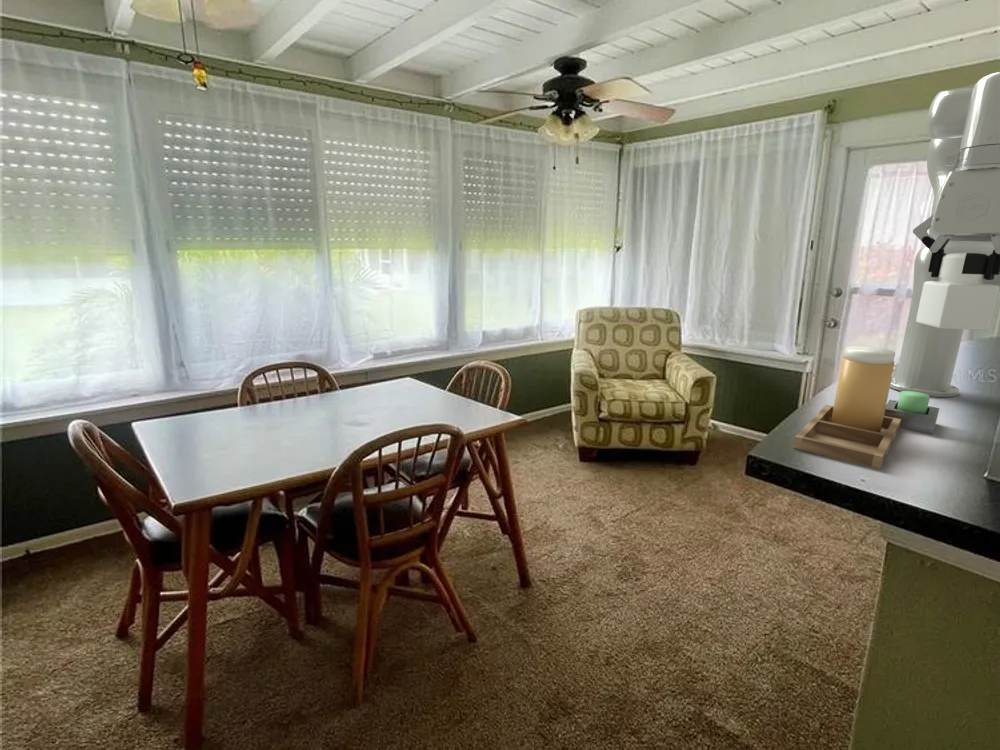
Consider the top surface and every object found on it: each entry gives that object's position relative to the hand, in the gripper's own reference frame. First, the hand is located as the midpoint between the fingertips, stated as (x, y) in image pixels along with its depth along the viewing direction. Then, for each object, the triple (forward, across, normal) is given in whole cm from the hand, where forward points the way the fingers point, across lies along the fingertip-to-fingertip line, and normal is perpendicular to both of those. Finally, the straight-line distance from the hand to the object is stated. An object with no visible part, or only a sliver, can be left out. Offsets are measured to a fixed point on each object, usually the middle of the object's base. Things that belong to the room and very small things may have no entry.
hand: (961, 277), depth 86 cm
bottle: (+25, -6, -15) cm, 30 cm away
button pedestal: (+26, -2, -4) cm, 27 cm away
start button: (+24, -2, -4) cm, 24 cm away
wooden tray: (+27, -6, -20) cm, 34 cm away
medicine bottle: (+8, 0, 0) cm, 8 cm away
